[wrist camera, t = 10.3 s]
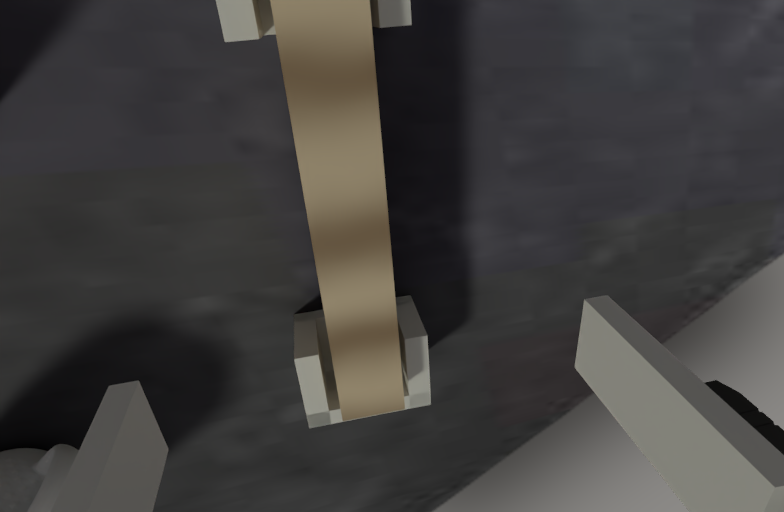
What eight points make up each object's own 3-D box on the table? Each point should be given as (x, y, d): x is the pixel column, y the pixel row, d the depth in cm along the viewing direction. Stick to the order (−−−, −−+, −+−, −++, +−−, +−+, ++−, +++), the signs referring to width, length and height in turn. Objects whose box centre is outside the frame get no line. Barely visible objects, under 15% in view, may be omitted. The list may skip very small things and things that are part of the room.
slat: (268, -36, 24) (261, -49, 18) (348, -41, 24) (364, -56, 19) (335, 360, 35) (342, 421, 30) (388, 350, 36) (405, 408, 30)
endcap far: (414, 358, 38) (430, 404, 33) (307, 378, 37) (309, 428, 32) (410, 295, 35) (427, 335, 31) (293, 314, 34) (294, 359, 30)
